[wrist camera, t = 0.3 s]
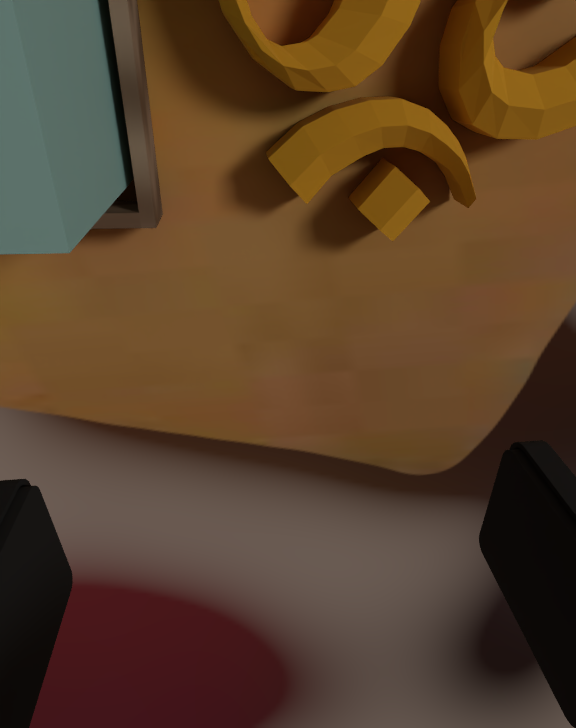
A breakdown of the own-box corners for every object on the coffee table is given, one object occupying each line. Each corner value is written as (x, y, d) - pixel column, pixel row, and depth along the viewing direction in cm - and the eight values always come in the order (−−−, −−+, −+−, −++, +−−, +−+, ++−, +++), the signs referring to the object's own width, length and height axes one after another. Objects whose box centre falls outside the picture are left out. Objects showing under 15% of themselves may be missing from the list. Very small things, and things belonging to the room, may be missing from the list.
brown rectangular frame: (-117, -81, 27) (-161, -99, 24) (128, -72, 28) (115, -88, 25) (-23, 216, 35) (-46, 230, 32) (162, 214, 36) (156, 227, 33)
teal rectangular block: (53, -18, 29) (-110, -91, 15) (105, -17, 29) (-8, -87, 15) (90, 179, 34) (-4, 254, 21) (133, 178, 35) (69, 253, 21)
